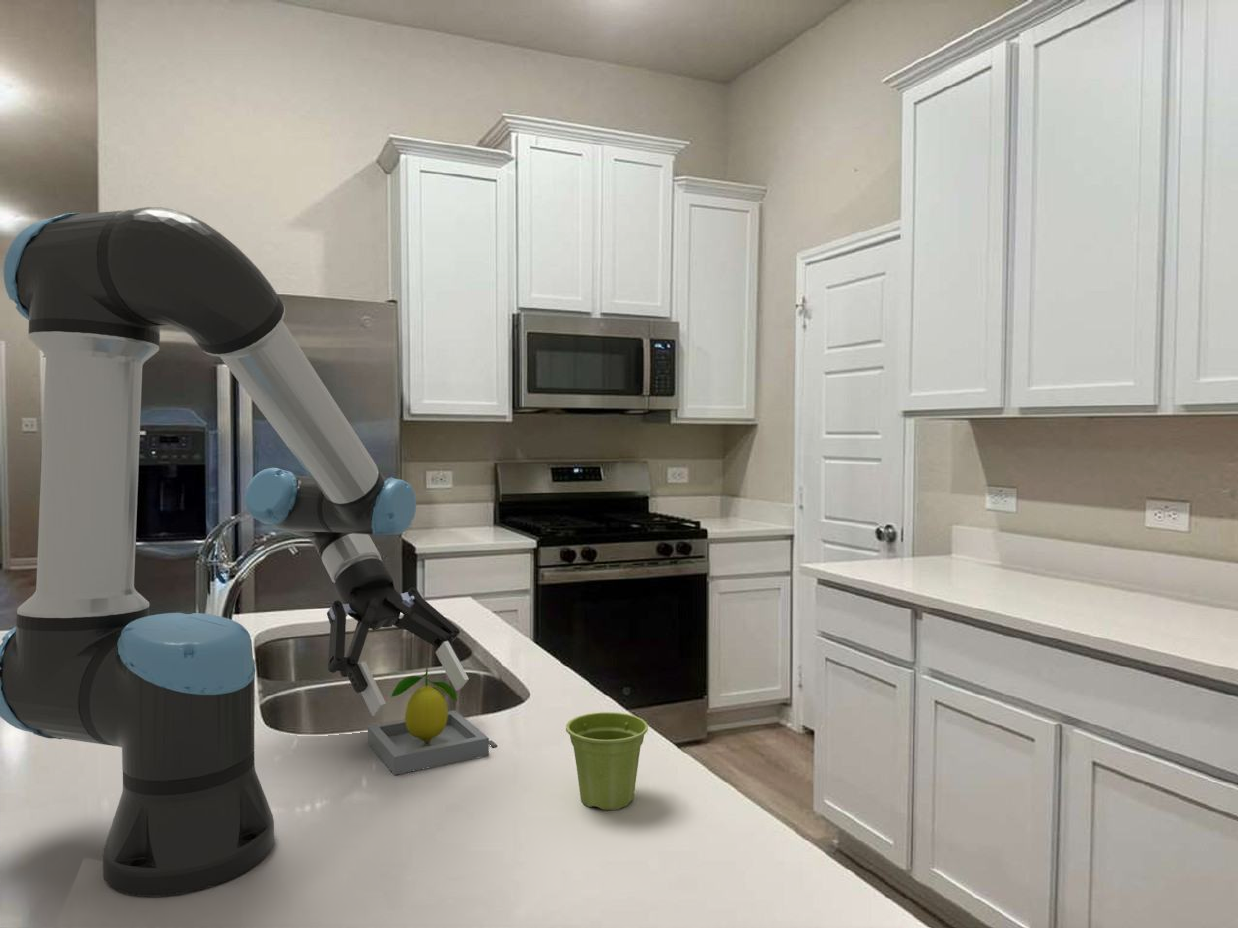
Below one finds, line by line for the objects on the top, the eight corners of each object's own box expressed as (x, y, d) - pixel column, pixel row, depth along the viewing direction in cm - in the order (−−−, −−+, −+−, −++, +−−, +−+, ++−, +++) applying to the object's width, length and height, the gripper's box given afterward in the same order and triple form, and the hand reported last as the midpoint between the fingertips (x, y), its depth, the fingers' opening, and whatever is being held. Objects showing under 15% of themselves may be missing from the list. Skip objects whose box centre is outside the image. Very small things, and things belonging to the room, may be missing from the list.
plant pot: (554, 789, 99) (555, 717, 98) (627, 776, 103) (628, 707, 102) (583, 824, 90) (583, 745, 90) (661, 808, 94) (661, 733, 94)
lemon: (391, 747, 109) (390, 672, 109) (415, 732, 115) (415, 660, 114) (436, 754, 107) (436, 677, 107) (458, 738, 113) (458, 664, 112)
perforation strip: (497, 746, 112) (497, 744, 112) (492, 747, 112) (492, 745, 112) (472, 725, 120) (472, 724, 120) (468, 726, 119) (468, 725, 119)
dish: (488, 755, 109) (488, 737, 109) (394, 775, 102) (394, 756, 102) (455, 725, 120) (455, 710, 119) (367, 742, 113) (367, 725, 113)
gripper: (418, 576, 132) (480, 689, 124) (266, 601, 113) (327, 737, 104) (439, 546, 129) (505, 661, 120) (286, 567, 109) (351, 705, 101)
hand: (423, 697), depth 112 cm, fingers open, 13 cm apart
